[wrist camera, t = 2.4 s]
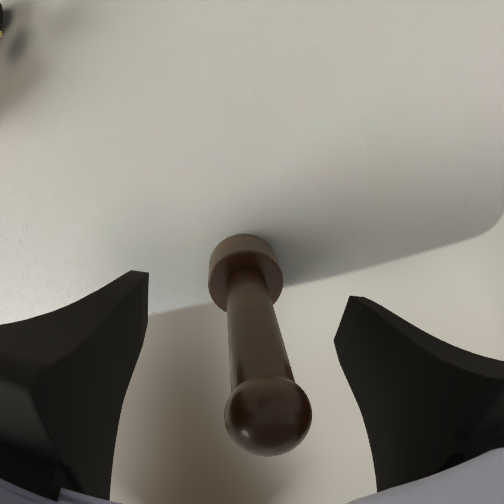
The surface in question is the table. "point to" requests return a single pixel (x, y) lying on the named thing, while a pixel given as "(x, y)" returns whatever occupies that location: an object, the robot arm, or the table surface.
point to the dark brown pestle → (257, 350)
